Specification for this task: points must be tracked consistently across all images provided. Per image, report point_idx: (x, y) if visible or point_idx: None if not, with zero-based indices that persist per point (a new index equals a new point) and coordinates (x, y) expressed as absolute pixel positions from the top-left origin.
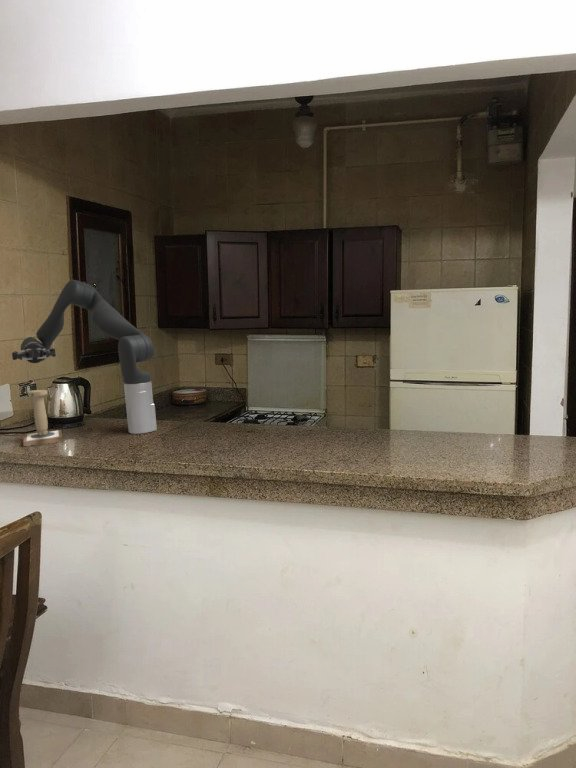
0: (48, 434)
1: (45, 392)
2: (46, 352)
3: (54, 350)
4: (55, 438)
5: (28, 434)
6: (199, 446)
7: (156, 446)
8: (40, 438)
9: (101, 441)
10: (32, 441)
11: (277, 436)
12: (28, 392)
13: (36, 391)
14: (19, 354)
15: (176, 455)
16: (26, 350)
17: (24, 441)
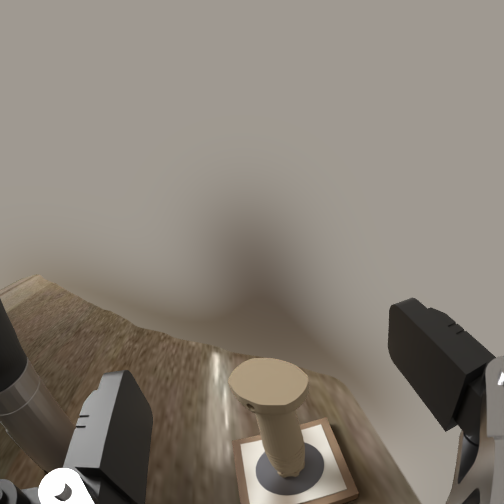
0: (273, 467)
1: (235, 373)
2: (124, 373)
3: (5, 488)
4: (249, 438)
5: (341, 486)
6: (68, 348)
7: (99, 362)
8: None
9: (155, 419)
10: (304, 424)
11: None
12: (302, 372)
13: (270, 375)
14: (406, 302)
15: (103, 328)
16: (487, 501)
17: (325, 422)
